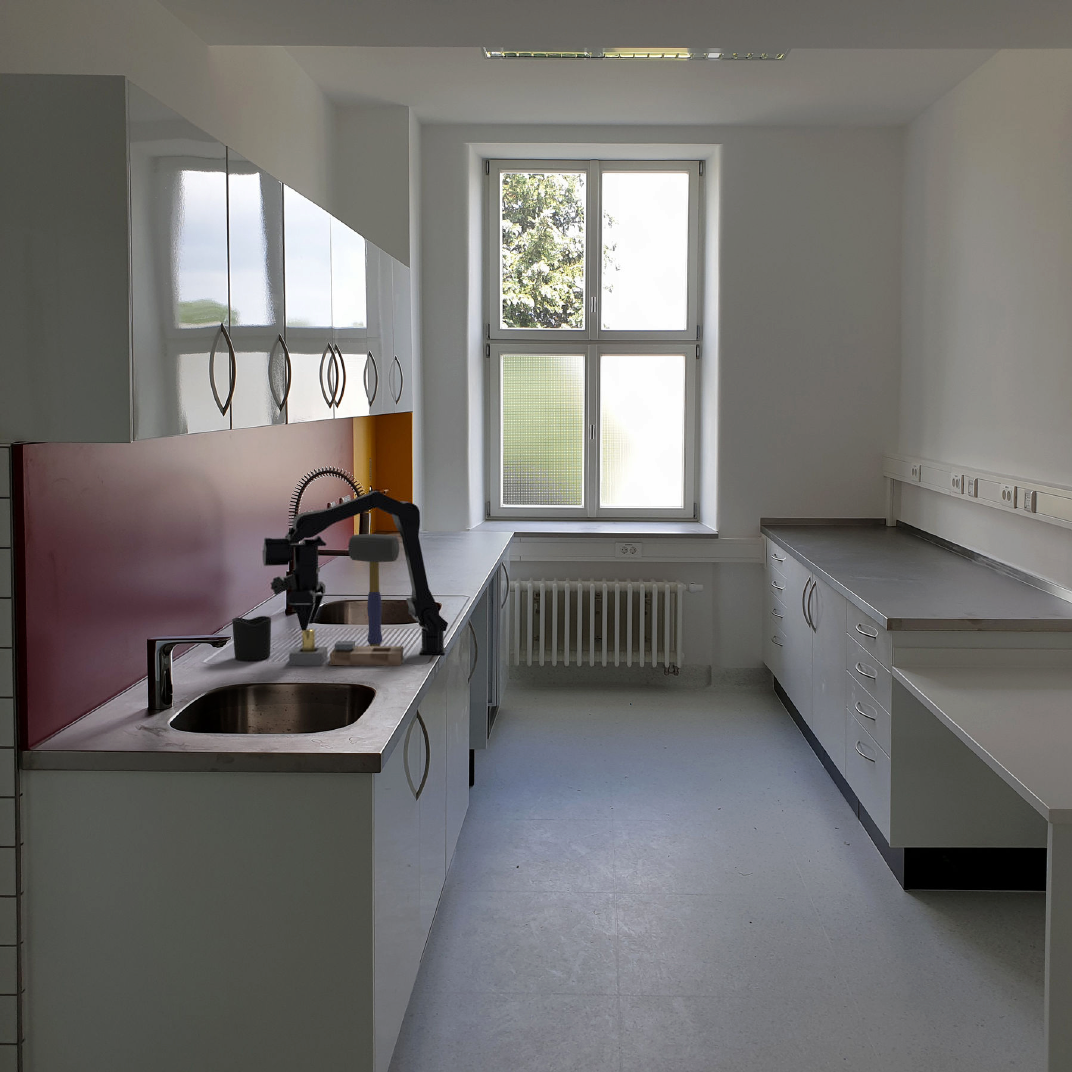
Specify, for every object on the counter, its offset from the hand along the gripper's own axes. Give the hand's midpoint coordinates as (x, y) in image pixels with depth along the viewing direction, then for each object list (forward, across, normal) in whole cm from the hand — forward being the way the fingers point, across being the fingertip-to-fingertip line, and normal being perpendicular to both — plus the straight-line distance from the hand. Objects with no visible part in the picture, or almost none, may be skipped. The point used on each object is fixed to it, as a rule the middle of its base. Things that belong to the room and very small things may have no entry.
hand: (307, 627), depth 263 cm
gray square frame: (+9, 0, 0) cm, 9 cm away
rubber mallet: (+9, -20, +14) cm, 26 cm away
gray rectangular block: (+9, 0, +9) cm, 13 cm away
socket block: (+9, 0, +14) cm, 17 cm away
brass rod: (+9, 0, 0) cm, 9 cm away
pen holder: (+9, -5, -15) cm, 18 cm away
